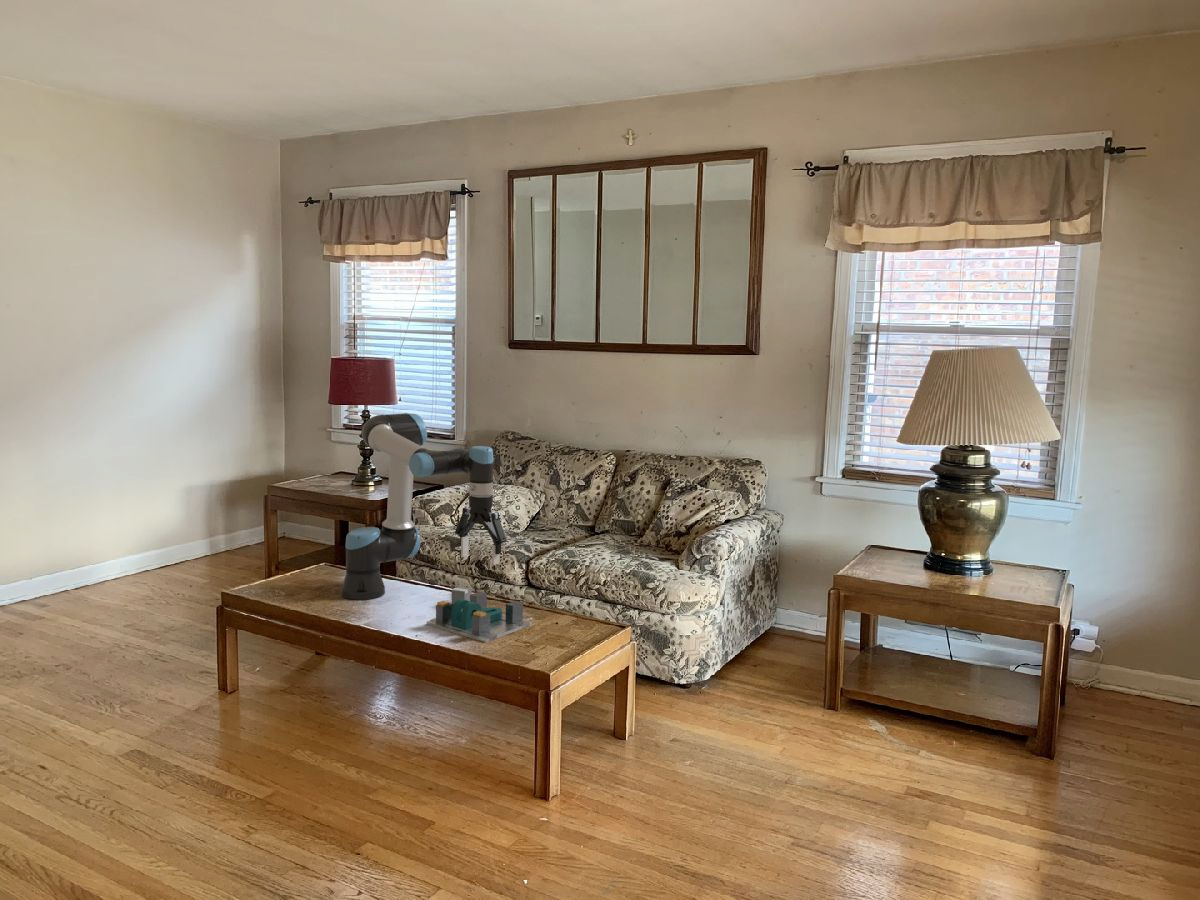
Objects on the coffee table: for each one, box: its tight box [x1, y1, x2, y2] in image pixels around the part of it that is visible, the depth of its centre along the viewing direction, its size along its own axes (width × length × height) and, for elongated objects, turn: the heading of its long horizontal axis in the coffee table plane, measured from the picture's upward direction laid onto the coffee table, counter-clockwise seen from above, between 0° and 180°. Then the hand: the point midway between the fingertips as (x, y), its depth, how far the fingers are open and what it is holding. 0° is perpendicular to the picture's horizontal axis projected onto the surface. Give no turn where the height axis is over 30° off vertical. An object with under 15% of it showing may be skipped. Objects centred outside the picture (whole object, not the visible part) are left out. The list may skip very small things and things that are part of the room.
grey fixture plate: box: [426, 591, 533, 643], centre depth 296 cm, size 26×22×8 cm
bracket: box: [451, 599, 503, 630], centre depth 296 cm, size 18×7×8 cm, turn 141°
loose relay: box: [451, 586, 473, 604], centre depth 316 cm, size 5×5×6 cm
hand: (480, 560), depth 294 cm, fingers open, 13 cm apart
